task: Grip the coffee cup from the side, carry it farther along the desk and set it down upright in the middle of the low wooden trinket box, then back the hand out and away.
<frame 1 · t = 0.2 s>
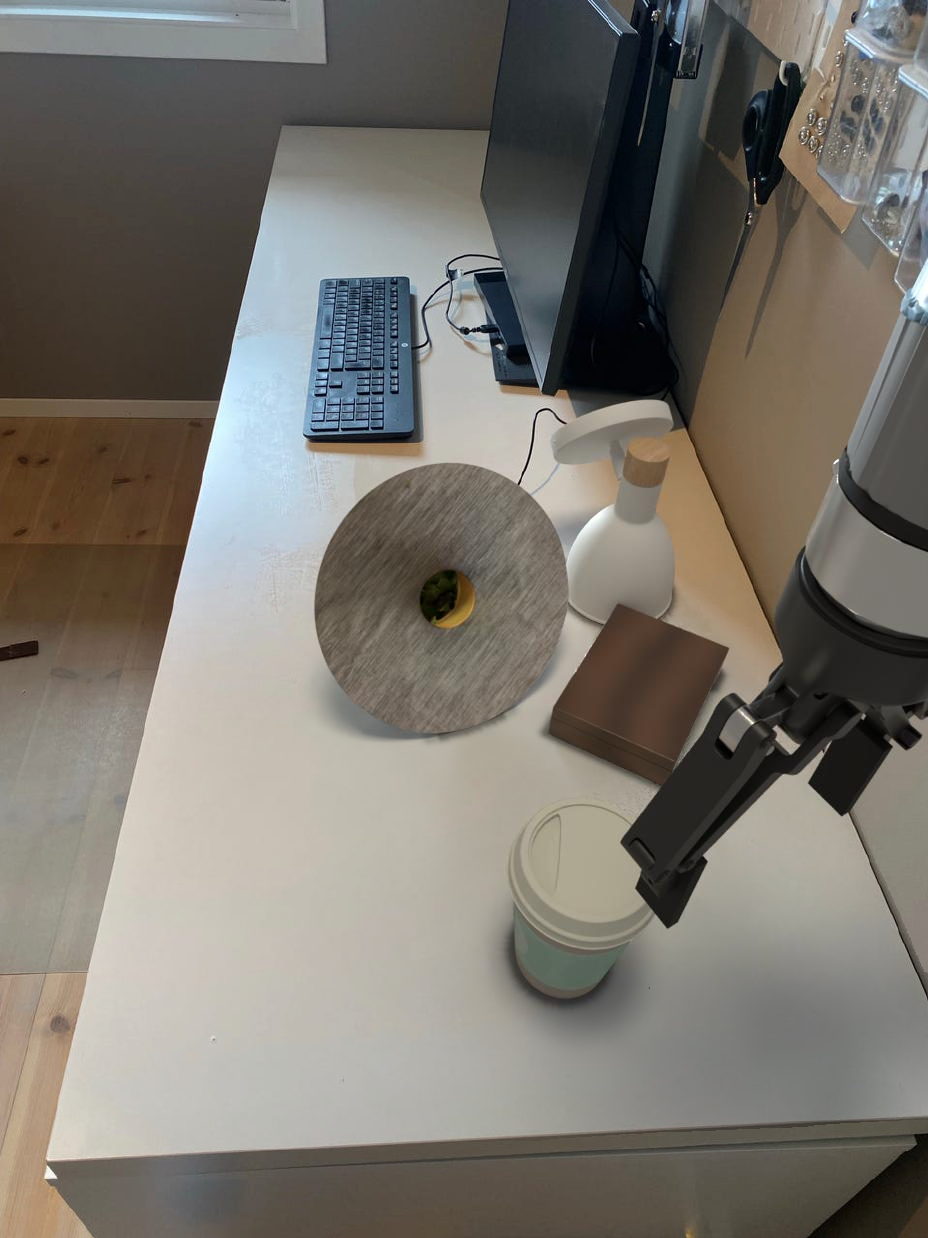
hand: (746, 848, 52), 24 cm above the table, tool pointing down, fingers open, 13 cm apart
coffee cup: (560, 954, 71), on the table
wooden trinket box: (636, 702, 89), on the table
light fixture: (604, 573, 103), on the table
grey round piece: (436, 657, 92), on the table
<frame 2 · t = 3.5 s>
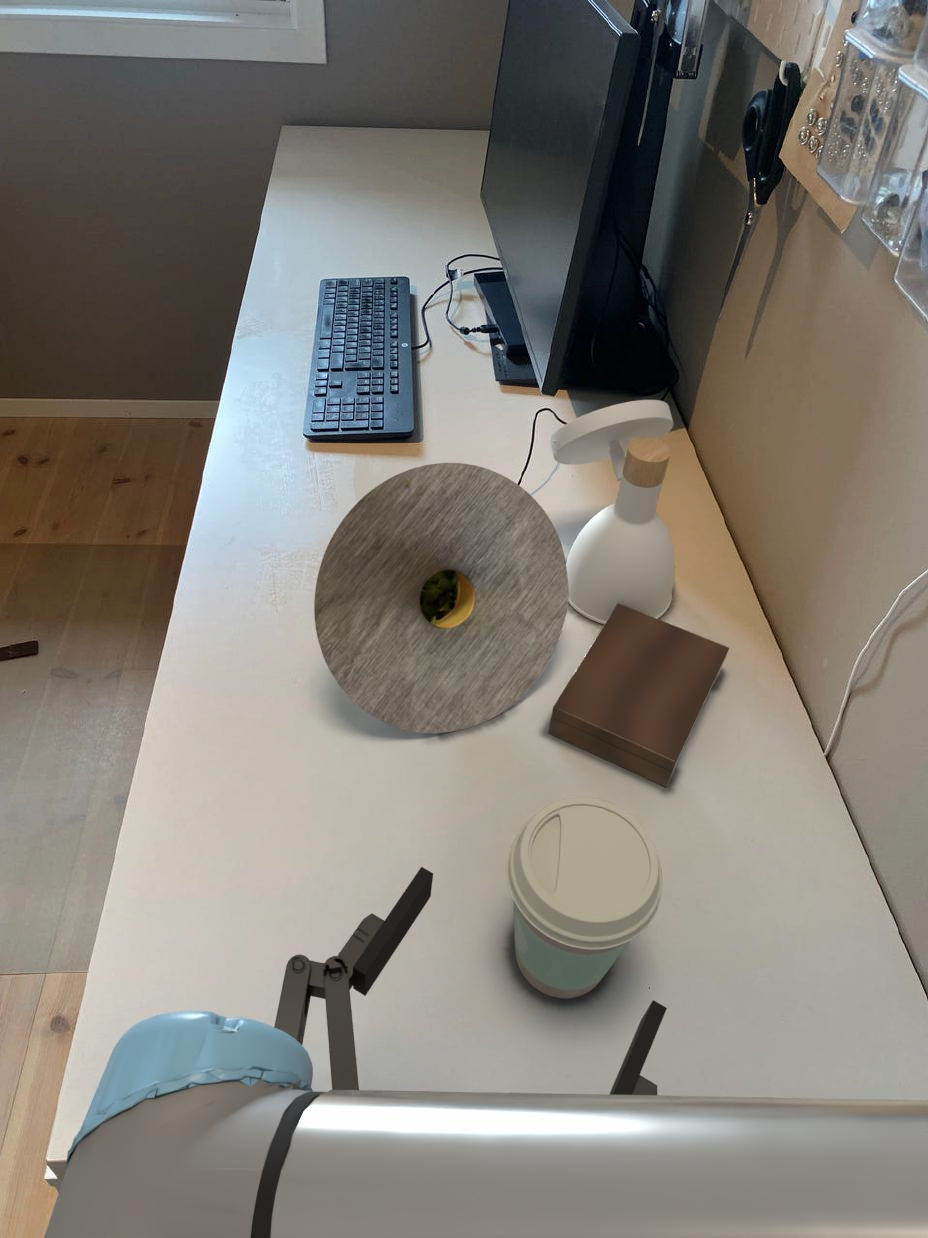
hand: (535, 944, 48), 23 cm above the table, tool horizontal, fingers open, 13 cm apart
nothing on the table moved.
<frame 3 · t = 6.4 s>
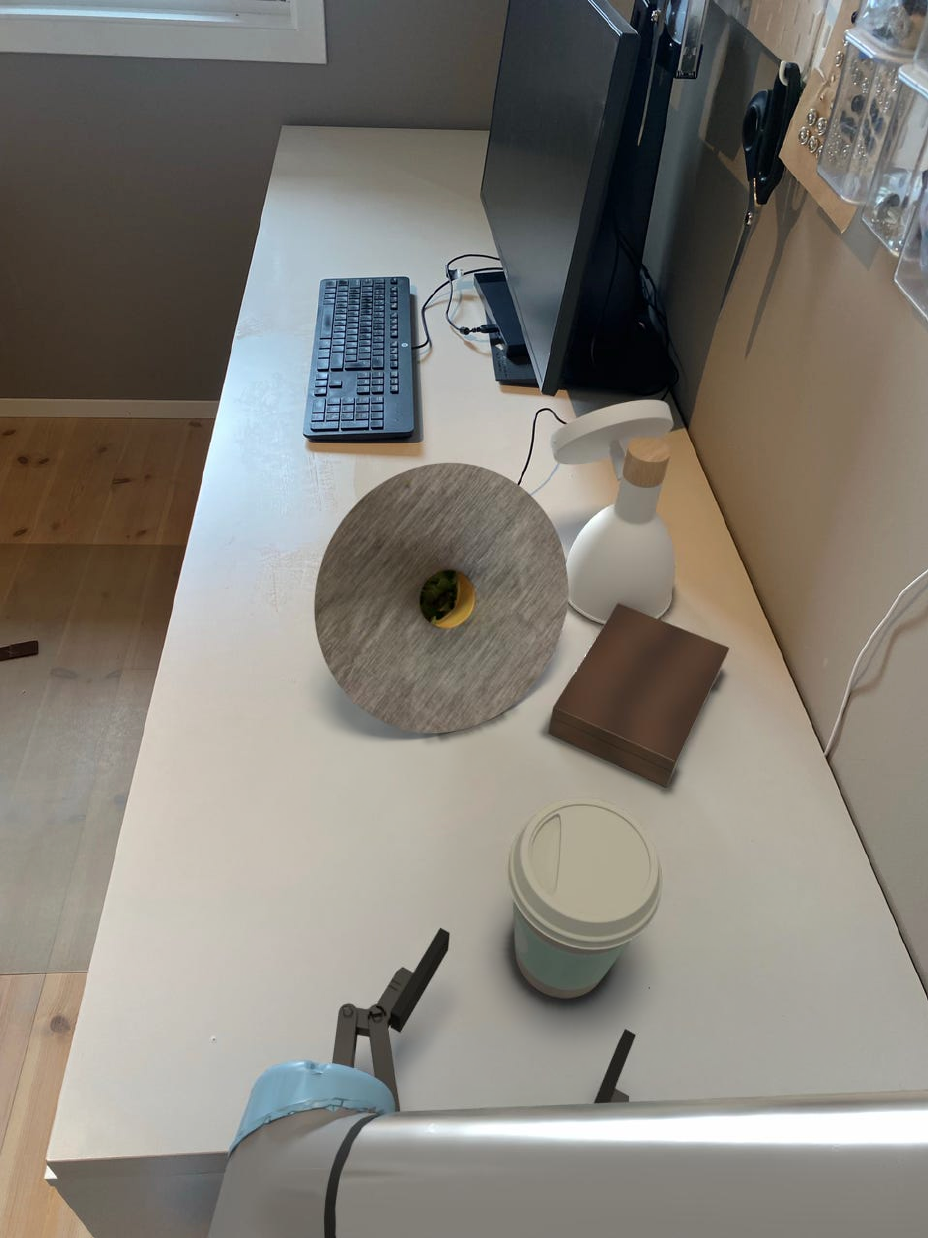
hand: (532, 987, 61), 8 cm above the table, tool horizontal, fingers open, 13 cm apart
nothing on the table moved.
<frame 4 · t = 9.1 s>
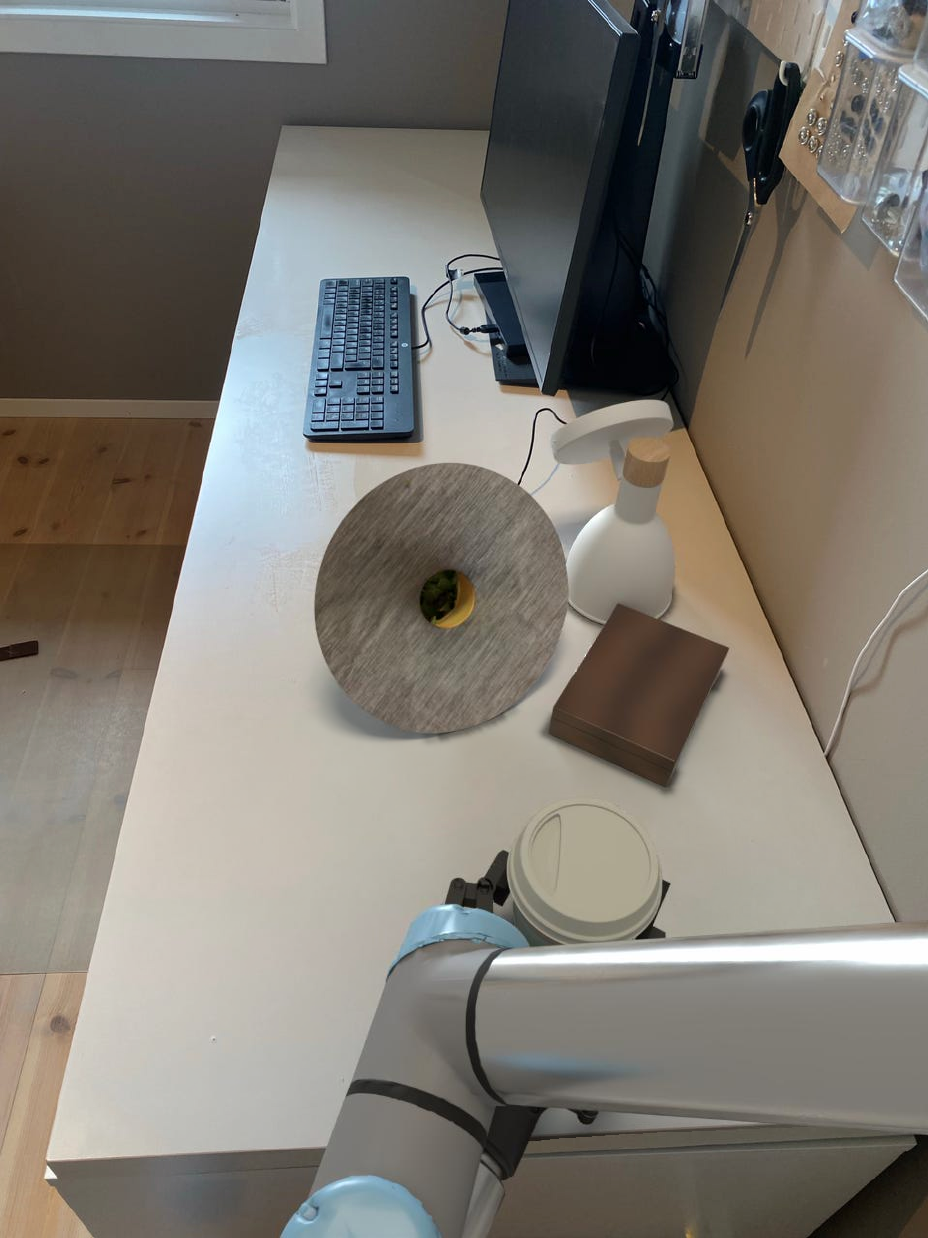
hand: (598, 858, 68), 8 cm above the table, tool horizontal, fingers closed on coffee cup, 9 cm apart
coffee cup: (560, 954, 71), on the table, touching gripper
everything else where it was.
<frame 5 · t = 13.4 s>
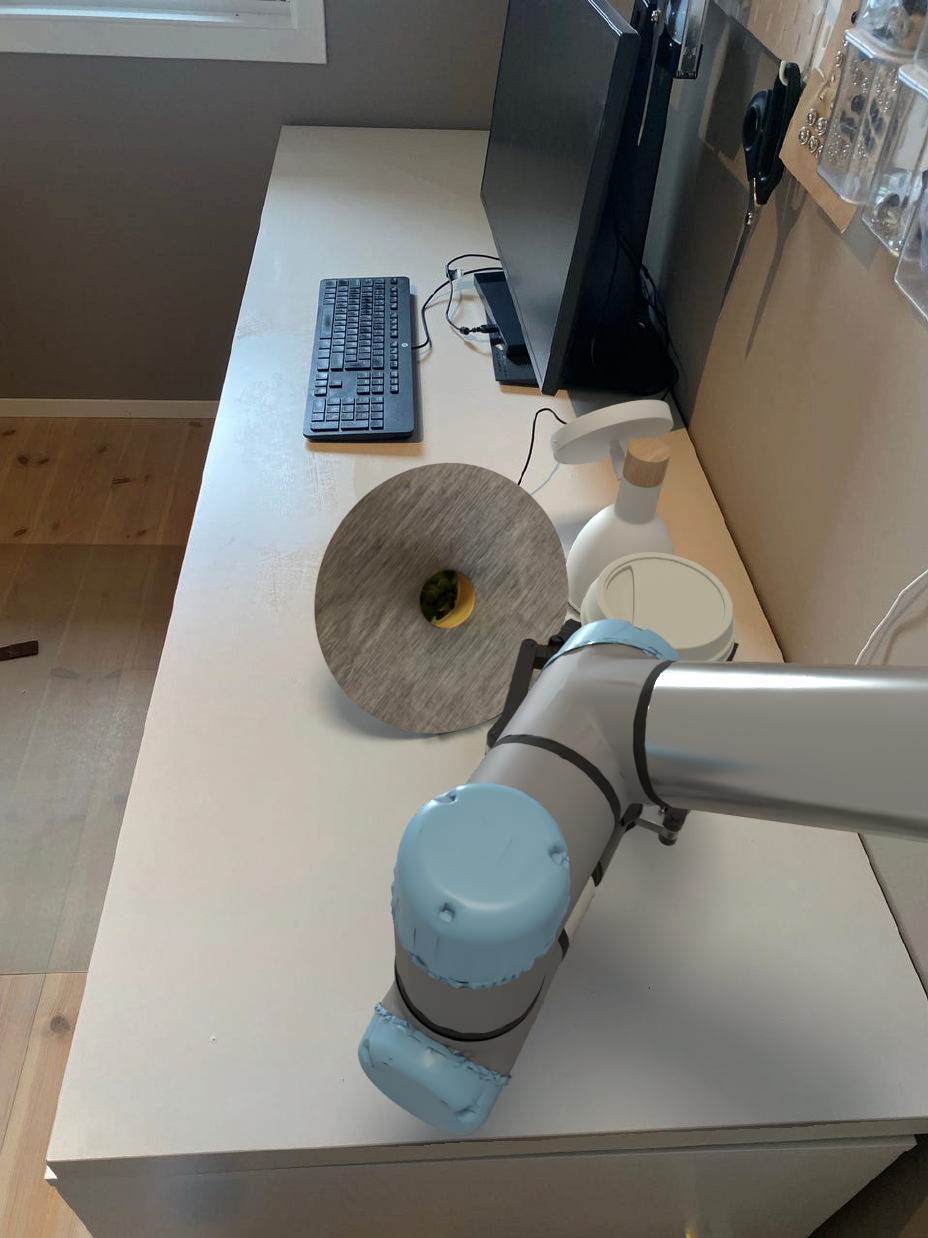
hand: (664, 628, 69), 20 cm above the table, tool horizontal, fingers closed on coffee cup, 9 cm apart
coffee cup: (624, 733, 72), point 12 cm above the table, touching gripper
everything else where it was.
when the fingers open (12 cm above the table, at t = 18.1 s): coffee cup stays where it is, resting on wooden trinket box.
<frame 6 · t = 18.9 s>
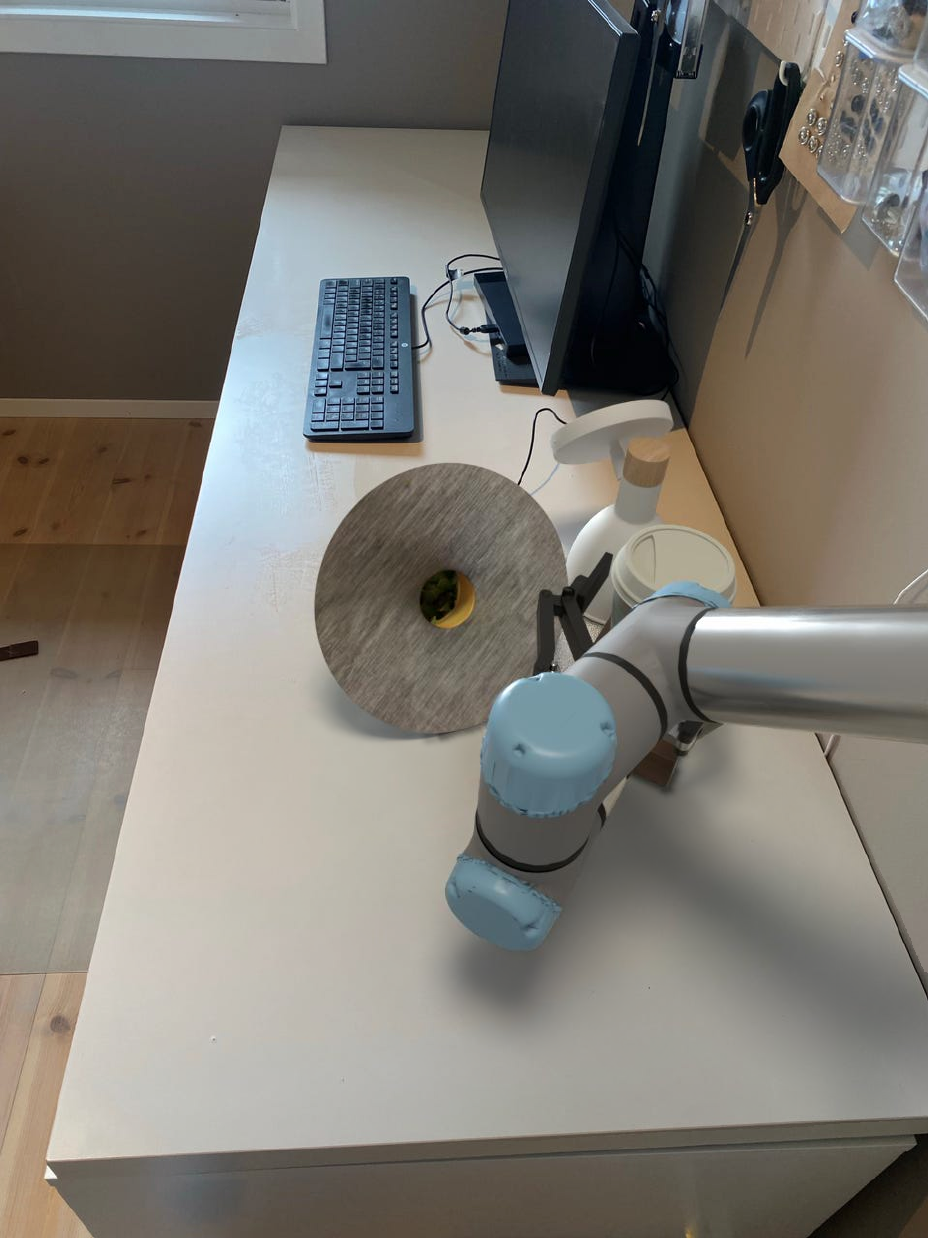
hand: (676, 590, 82), 13 cm above the table, tool horizontal, fingers open, 13 cm apart
coffee cup: (644, 677, 87), point 4 cm above the table, touching wooden trinket box
everything else where it was.
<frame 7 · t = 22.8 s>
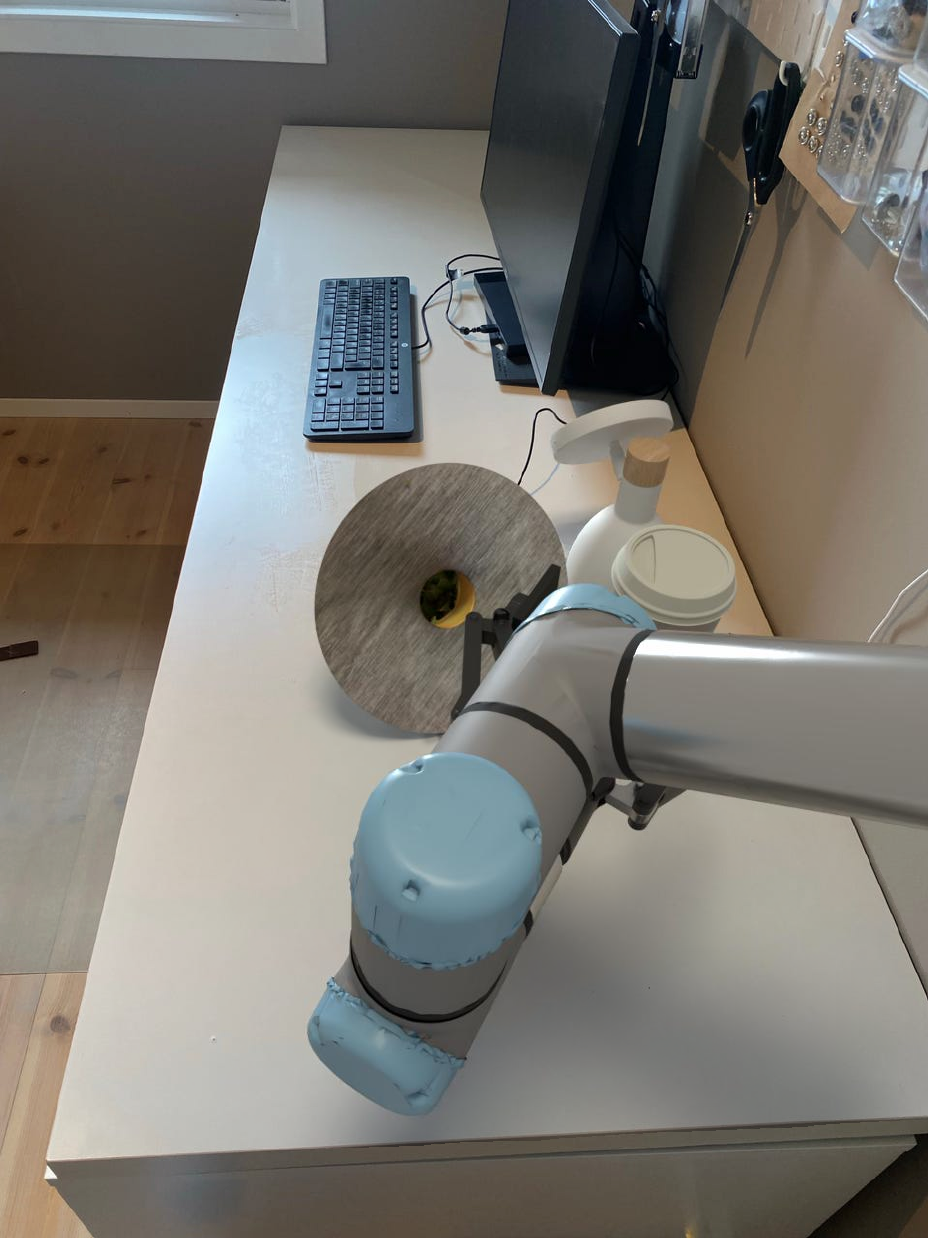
hand: (639, 611, 66), 23 cm above the table, tool horizontal, fingers open, 13 cm apart
nothing on the table moved.
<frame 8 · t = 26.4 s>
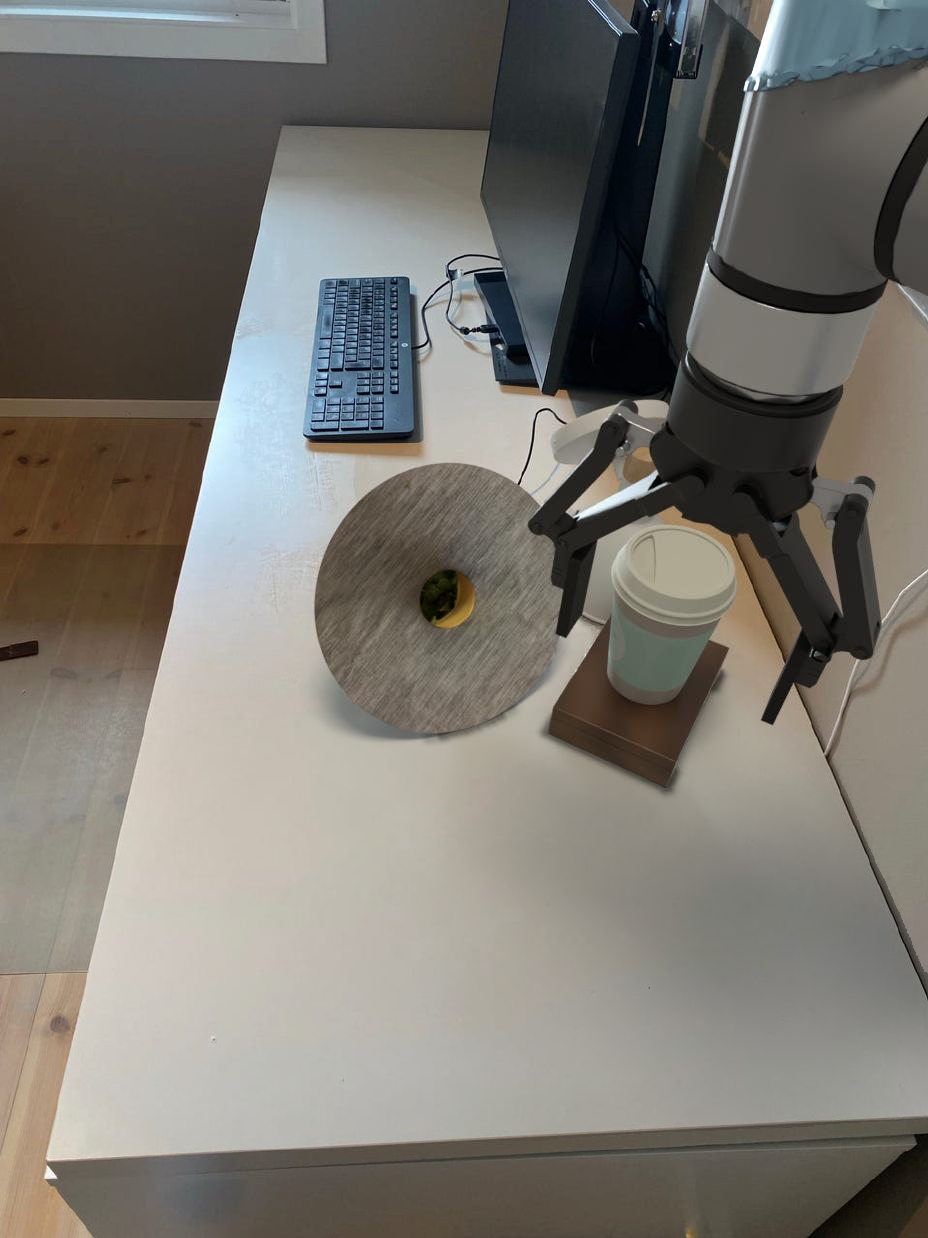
hand: (667, 664, 57), 27 cm above the table, tool pointing down, fingers open, 13 cm apart
nothing on the table moved.
at the end: coffee cup inside the target area on the wooden trinket box (0.0 cm from its centre), point 3.8 cm above the wooden trinket box's base; coffee cup tilted 0°; the gripper is holding nothing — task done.
